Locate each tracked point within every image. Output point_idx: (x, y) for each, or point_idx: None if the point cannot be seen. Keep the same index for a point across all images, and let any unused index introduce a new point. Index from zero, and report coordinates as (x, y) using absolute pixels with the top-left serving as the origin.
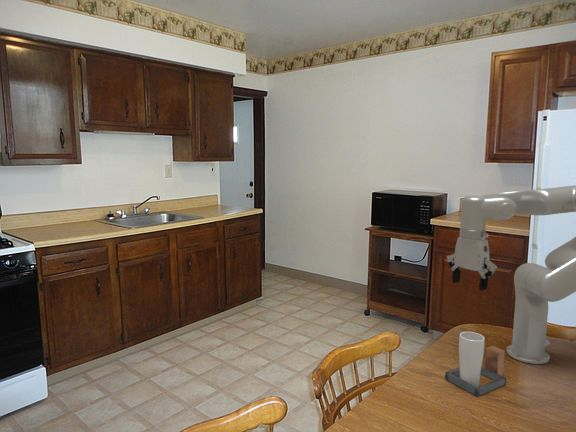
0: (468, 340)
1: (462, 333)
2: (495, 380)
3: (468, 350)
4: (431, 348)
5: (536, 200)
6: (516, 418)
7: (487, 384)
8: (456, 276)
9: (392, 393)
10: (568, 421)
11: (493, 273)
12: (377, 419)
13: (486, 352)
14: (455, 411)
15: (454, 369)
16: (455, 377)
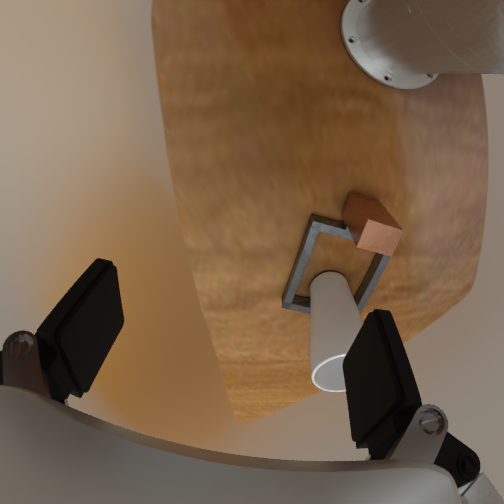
0: (341, 390)
1: (315, 371)
2: (378, 271)
3: (340, 370)
4: (176, 184)
5: None
6: (411, 322)
7: (367, 295)
8: (99, 343)
9: (240, 373)
10: (472, 280)
11: (471, 458)
12: (262, 408)
13: (353, 239)
14: None
15: (291, 285)
16: (306, 311)
